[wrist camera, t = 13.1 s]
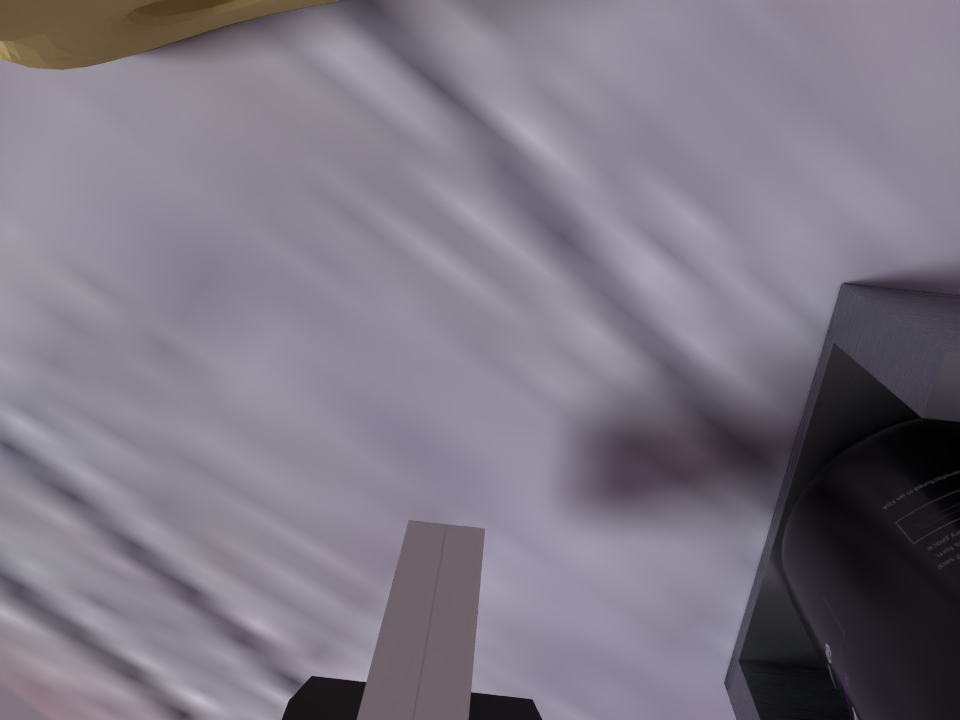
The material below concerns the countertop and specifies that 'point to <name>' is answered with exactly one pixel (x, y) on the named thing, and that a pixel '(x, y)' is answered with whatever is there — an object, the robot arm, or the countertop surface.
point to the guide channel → (822, 435)
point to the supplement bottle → (883, 571)
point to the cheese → (115, 26)
